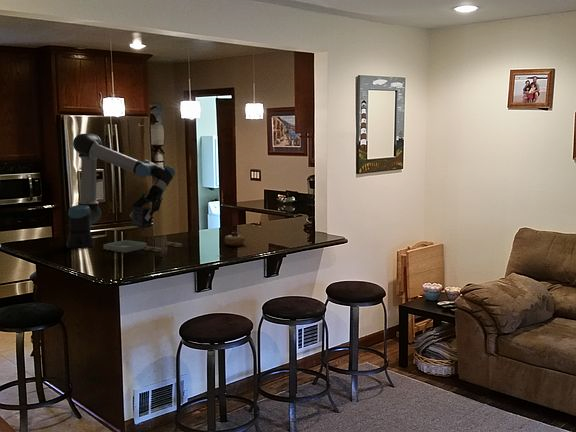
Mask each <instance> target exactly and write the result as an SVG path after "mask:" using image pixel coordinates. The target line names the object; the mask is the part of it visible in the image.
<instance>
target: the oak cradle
mask: <svg viewBox="0 0 576 432" xmlns="http://www.w3.org/2000/svg"><path fill="white" fill-rule="evenodd" d="M164 242H165V245H164V246H169V247H174V248H183V243H179V242H171V241H164ZM143 250H145V251H150V252H156V253H162V252H163V251H162V247H155V246H148V245H147V246H144V249H143Z"/></svg>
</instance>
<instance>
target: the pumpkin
mask: <svg viewBox="0 0 576 432" xmlns="http://www.w3.org/2000/svg"><path fill="white" fill-rule="evenodd" d="M237 232H239V230H238V229H236V230H235V231H232V232H231V234H227V235H225V236H224V243H225V244H226V245H227V246H229V247H240V246H241V245H242V246H243V245H244V243H245V241H246V237H245V236H243V235H239V234H238V233H237ZM242 246H241V247H242Z"/></svg>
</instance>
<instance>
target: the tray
mask: <svg viewBox="0 0 576 432" xmlns="http://www.w3.org/2000/svg"><path fill="white" fill-rule="evenodd" d="M144 246H148V245H147V242H144V241H143V242H142V241H135V240H130V239H129V240H128V239H125V240H124V239H123V240H120V241H115V242H108V243H105V244H103V250H104V249H106V250H105V251H109V250H111V252H115V253H116V252H118V253H124V254H126V253H131V252H135V251H140V250H144Z"/></svg>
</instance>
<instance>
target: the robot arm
mask: <svg viewBox="0 0 576 432" xmlns="http://www.w3.org/2000/svg"><path fill="white" fill-rule="evenodd" d="M72 147H73V149H74V150H75V151H76V152H77V153H78V157H79V158H80V160H81V168H80V169H81V173H80V175H81V176H80V179H81V180H80V200H79V201H78V202H77V203H78V204H76V205H72V206H70V207H69V208H68V213H67V214H68V232H69V233H68V237H67V241H66V248H68V249H75V250H78V248H79V249H88V248H87V247H89V248H92V246H93V247H95V241H94V237H93V236H92V233H91V232H92V231H91V225H94V224H96V223H97V222H98V221H99V220H100V218H101V216H102V211H101V209H100V207H99V206H100V205H99V201H98V200H97V165H98V164H97V163H98V162H97V161H98V159H99V160H101V161H103V162H106V163H109V164H111V165H113V166H116V167H119V168H120V169H123V170H125V171H128V172H131V173H133V174H135V175H137V177H140V178H147V177H152V178H154V179H155V181H154V182H153V184H152V186H151V187H150V188H149V189H148V193H147V194H145V193H143V194H142V195H141V196H140V198H139V199H137V200H136V201H135V202H134V203H133V204H132V208H133V207H144V206H145V205H146V204H149V203H151V208H150V210H149V212H148V213H147V215H146V216H145V219H146V220H147V221H148V220H149V219H150V217H151V216H152V217H153V215H154V213H156V212H159V211H160V208H161V205H162V201H163V199H164V198H163V197H162V195H163V194H164V192H165V191H166V189H167V187H168V186H170V185H169V184H170V183H171V182H172V180H173V178H174V177H175V174H176V170H175V168H173V167H172V166H168V165H165V166H164V167H161V166H159V165H158V164H156V163H154V162H152V161H151V160H148V159H144V160H142V161H141V160H138V159H135V158H133V157H131V156H128V155H126V154H123V153H121V152H119V151H116V150H113V149H111V148H109V147H106V146H105V145H103V141H102V140H101V138H100V136H98V134H96V133H79V134H78V135H76V136H75V137H74V138H73V142H72ZM129 217H130V218H131V220H133V209H132V211H131V213H130V214H129Z"/></svg>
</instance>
